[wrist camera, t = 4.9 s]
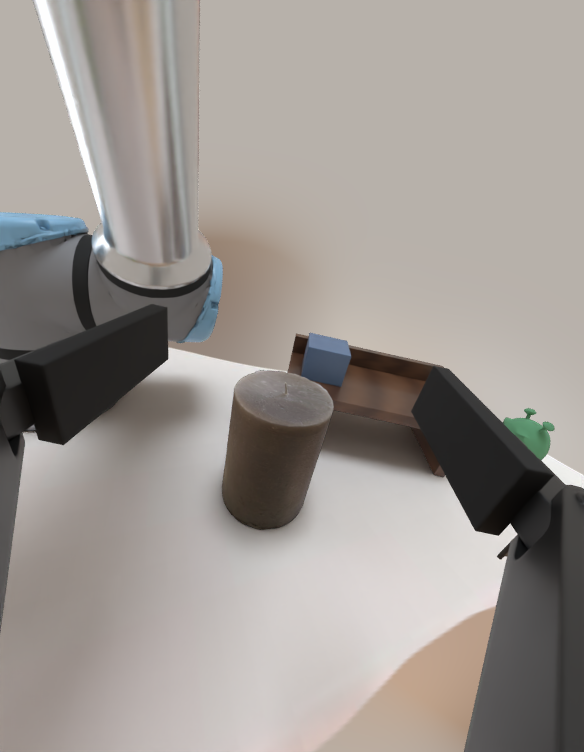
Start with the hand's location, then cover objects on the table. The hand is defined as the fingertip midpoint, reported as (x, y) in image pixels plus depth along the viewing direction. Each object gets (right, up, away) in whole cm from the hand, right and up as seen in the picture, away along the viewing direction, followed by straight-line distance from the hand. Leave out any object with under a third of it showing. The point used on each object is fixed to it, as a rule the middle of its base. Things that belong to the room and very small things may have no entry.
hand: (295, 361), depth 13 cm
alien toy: (+36, -15, +34) cm, 52 cm away
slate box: (+4, 0, +28) cm, 29 cm away
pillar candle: (-4, -14, +19) cm, 24 cm away
